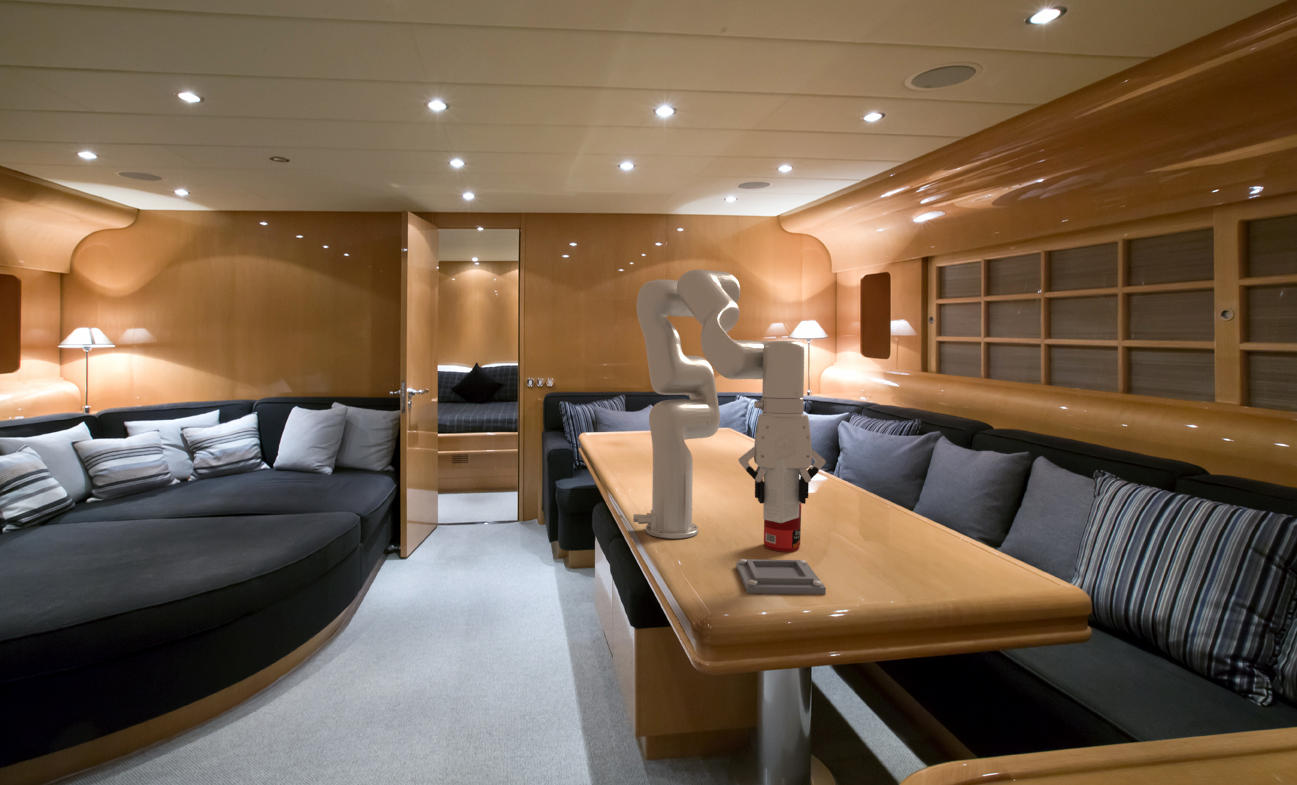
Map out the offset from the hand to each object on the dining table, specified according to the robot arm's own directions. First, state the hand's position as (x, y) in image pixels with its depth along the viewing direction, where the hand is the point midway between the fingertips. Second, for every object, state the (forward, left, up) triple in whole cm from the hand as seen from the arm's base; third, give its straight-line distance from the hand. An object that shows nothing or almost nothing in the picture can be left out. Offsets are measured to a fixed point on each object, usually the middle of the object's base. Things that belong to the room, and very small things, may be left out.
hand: (781, 501), depth 120 cm
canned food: (+5, +21, -15) cm, 27 cm away
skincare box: (0, 0, -3) cm, 3 cm away
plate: (0, 0, -15) cm, 15 cm away
